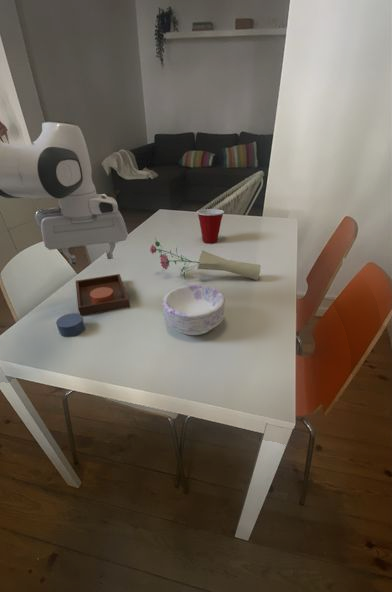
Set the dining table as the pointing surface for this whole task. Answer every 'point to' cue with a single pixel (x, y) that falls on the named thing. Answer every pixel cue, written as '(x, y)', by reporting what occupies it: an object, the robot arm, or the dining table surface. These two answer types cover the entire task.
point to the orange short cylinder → (102, 295)
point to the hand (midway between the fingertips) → (92, 260)
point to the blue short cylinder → (70, 325)
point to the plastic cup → (210, 224)
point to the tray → (93, 283)
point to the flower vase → (213, 263)
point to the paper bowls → (193, 309)
